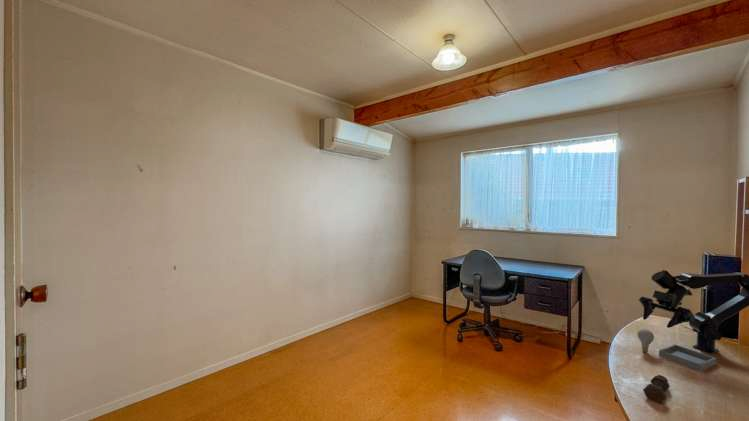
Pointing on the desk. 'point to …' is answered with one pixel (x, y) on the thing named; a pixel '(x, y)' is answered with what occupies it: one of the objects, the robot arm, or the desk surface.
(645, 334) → the light bulb
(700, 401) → the desk surface
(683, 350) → the tray
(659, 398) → the dark brown lumpy piece
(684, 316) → the robot arm
